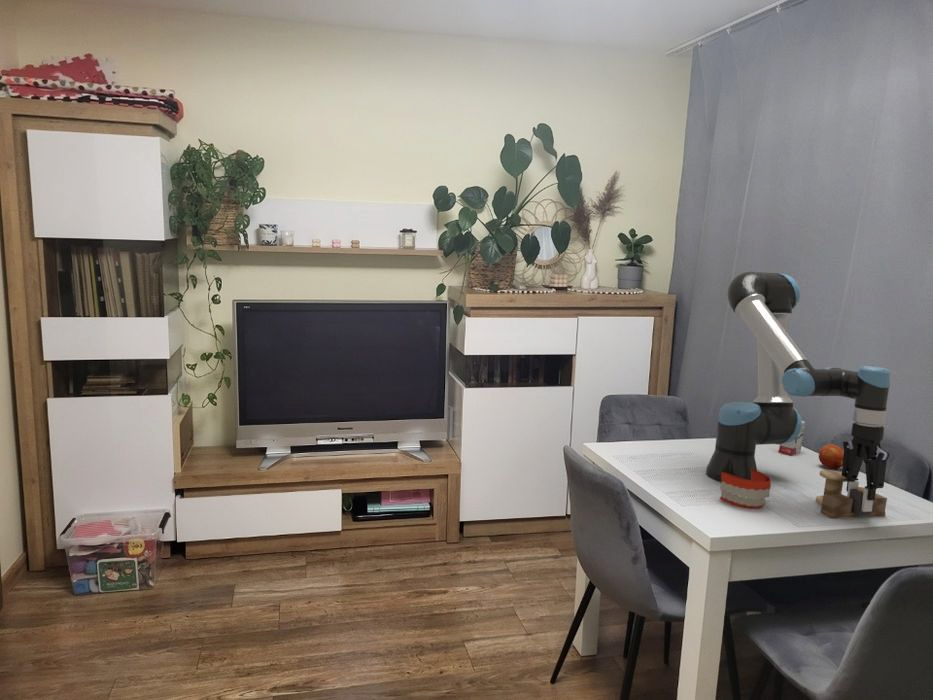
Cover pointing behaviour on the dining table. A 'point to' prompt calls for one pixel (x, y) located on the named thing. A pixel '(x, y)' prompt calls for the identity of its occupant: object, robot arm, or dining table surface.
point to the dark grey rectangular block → (857, 501)
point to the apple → (831, 456)
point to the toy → (745, 489)
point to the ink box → (793, 444)
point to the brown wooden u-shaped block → (849, 506)
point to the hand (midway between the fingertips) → (858, 507)
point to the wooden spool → (831, 483)
